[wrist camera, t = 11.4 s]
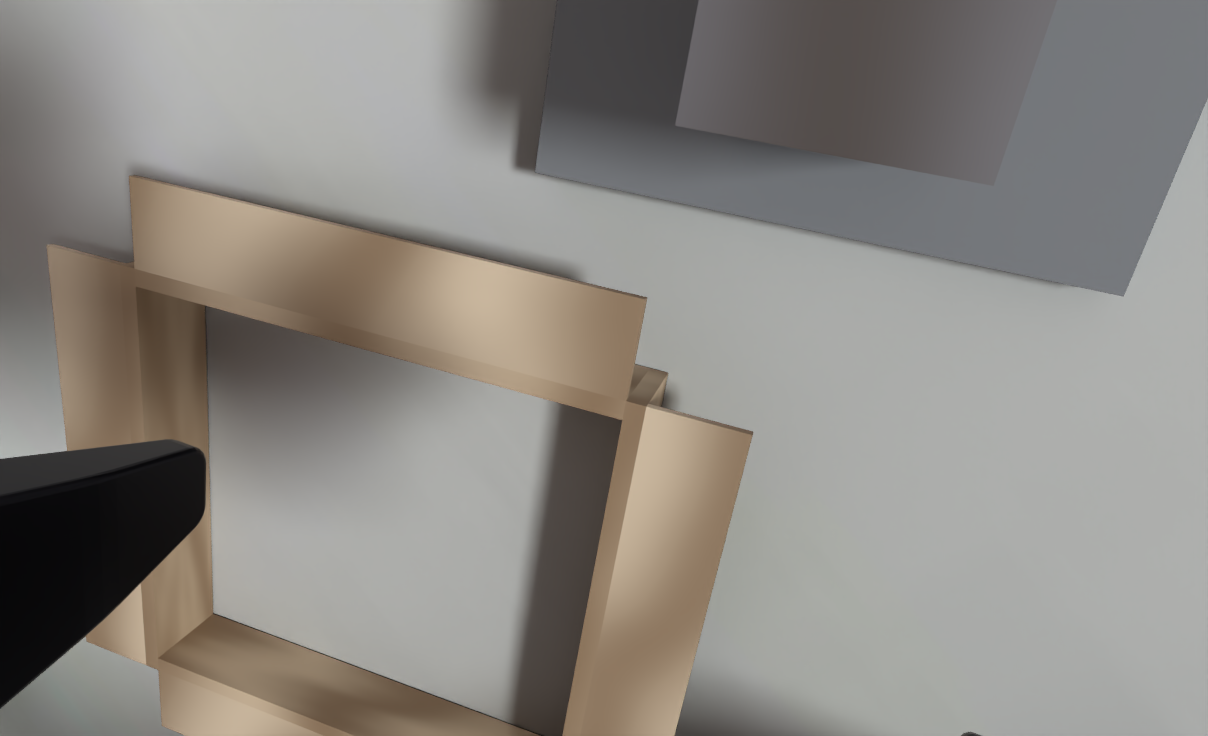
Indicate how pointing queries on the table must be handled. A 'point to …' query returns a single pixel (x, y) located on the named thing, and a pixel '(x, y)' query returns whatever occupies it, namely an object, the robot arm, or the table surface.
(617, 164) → the mat
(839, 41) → the block
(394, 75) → the table surface
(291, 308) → the wooden square frame
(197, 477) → the robot arm
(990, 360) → the table surface
